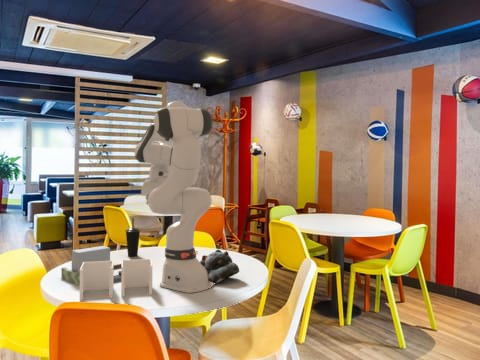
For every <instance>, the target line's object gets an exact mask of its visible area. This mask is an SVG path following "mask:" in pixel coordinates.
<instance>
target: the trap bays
mask: <svg viewBox="0 0 480 360" xmlns="http://www.w3.org/2000/svg"><path fill="white" fill-rule="evenodd" d="M119 282H121V272H119V271H118V274H114V283H119Z"/></svg>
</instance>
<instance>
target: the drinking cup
mask: <svg viewBox="0 0 480 360" xmlns="http://www.w3.org/2000/svg"><path fill="white" fill-rule="evenodd" d="M131 218H132V219H131V221H132V222H131V225H132V227H129V228H127V229H125V230H124V231H125V237H126V249H127V251H126V252H127V257H129V258H136V257H138V254H139V243H140V242H139V241H140V236H141V235H140V233H141V229H139V228H137V227H134V224H135V223H134V222H135V221H134V217H131Z"/></svg>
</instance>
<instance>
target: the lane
mask: <svg viewBox="0 0 480 360" xmlns="http://www.w3.org/2000/svg"><path fill="white" fill-rule="evenodd" d="M121 267H122V263H118V264H114V270H117V269H120V268H121ZM119 272H121V270H119V271H118V273H119ZM61 278H62V279H64V280H66V281H69V282H70V283H73V284H75V285H77V286H80V273H77V272H75V271H73V270H72V269H70V268H67V267H66V266H65V267H61Z"/></svg>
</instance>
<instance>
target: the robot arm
mask: <svg viewBox="0 0 480 360" xmlns="http://www.w3.org/2000/svg"><path fill="white" fill-rule="evenodd" d="M212 117H213V116H212V114H211V112H209V110H207V109H206V108H205V109H204V108H201V107H200V108H199V107H198V108H195V107H194V108H193V107H188V106H187V105H186V104H185V103H184V102H182V101H179V100H174V101H171V102H169V103H168V104H167V105H166V107H161V108H159V109H157V110H156V111H155V113H154V116H153V123H152V124H150V125H149V126H148V127H147V129H146V131H145V133H144V134H143V135H142V138H141V139H140V141H139V142H138V143H137V144H136V146H135V148H134V157H135V159H136V161H137V162H138V163H141V164H142V163H143V164H151V166H150V167H149V168H150V169H149V173H148V174H149V175H148V177H146V179H145V180H144V181H143V183H142V187H141V190H140V193H141V196H144V197H145V199H146V205H148V207H149V209H150V211H151V212H152V213H154V214H158V215H159V214H160V215H181V217H180V219H179V220H178V221H176V222H174V223H172V224H171V225H169V226H168V228H167V229H166V231H165V232H166V234H165V235H166V237H165V239H166V240H165V241H166V242H165V248H164V257H165V262H164V263H163V269H162V277H161V278H162V279H161V282H160V284H159V287H160V288H165V289H170V290H174V291H177V292H178V291H179V292H183V293H187V294H192V293H198V292H202V291H207V290H209V289H211V287H212V286H213V287H214V286H215V284H214V283H213V282H210V281H208V273H207V270H206V269H205V267H203V266H202V264H201V263H200V261H199V259H198V258H197V255H198V254H199V251H196V250H195V246H194V238H195V231H196V230H195V229H196V226H197V223H198V221H199V220H200V218H202V216H203V215H204V214H205V213H207V212H208V211H209V210H210V208H211V206H212V196H211V193H210V192H209V190H208V189H205V188H201V187H196V186H195V187H192V186H193V185H194V184H195V183H196V182H197V180H198V178H199V173H200V165H201V157H202V154H201V153H202V151H201V150H202V149H201V148H202V146H201V141H200V139H199V138H198V137H203V136H207V135H209V134H210V133H211V130H212V126H213V119H212ZM156 142H157V143H156ZM167 142H172V146H171V145H170V144H169V143H167ZM213 287H212V288H213ZM208 288H209V289H208Z"/></svg>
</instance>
